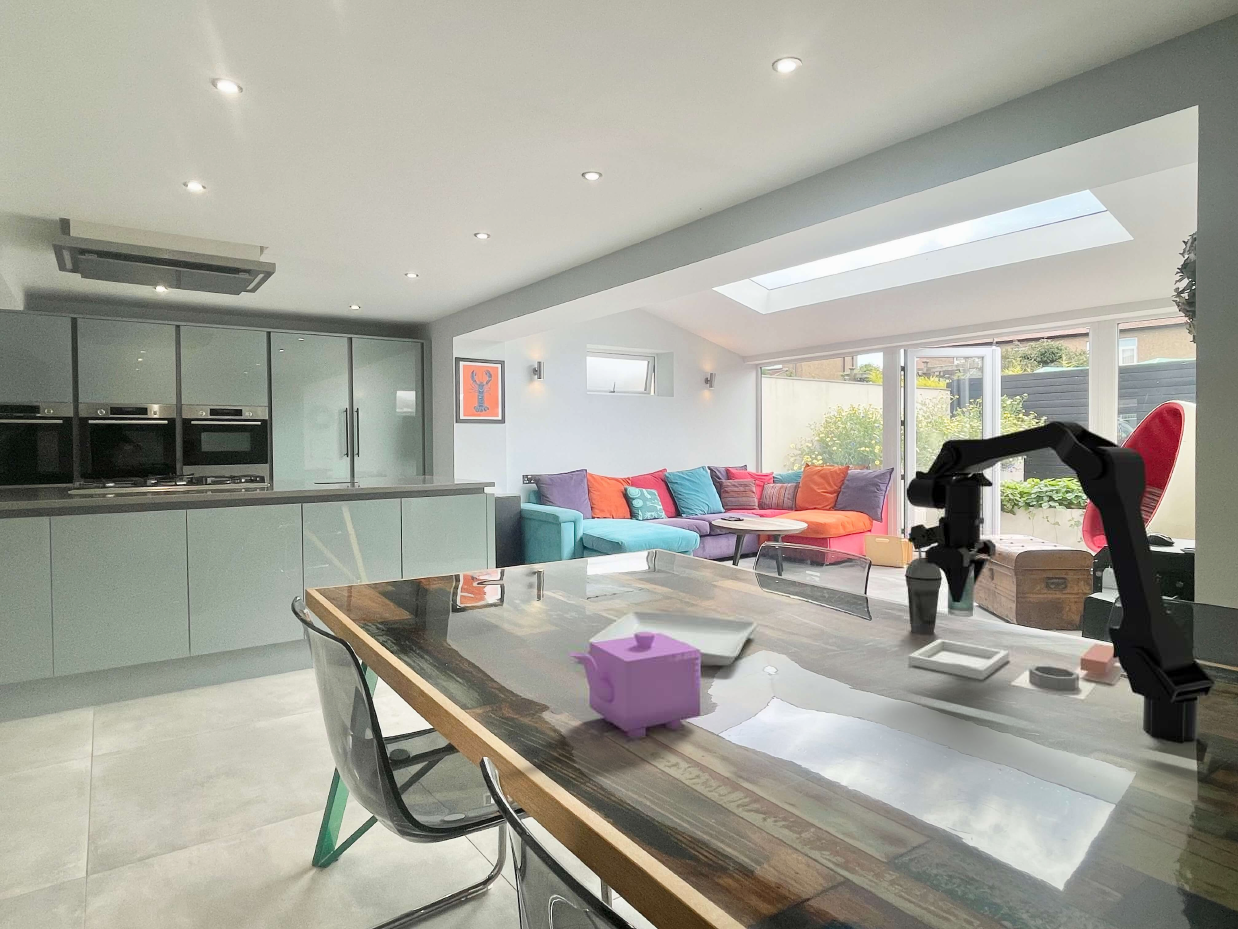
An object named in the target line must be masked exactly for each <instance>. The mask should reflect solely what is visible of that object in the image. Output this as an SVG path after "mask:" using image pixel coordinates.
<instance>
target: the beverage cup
mask: <svg viewBox="0 0 1238 929" xmlns="http://www.w3.org/2000/svg"><path fill="white" fill-rule="evenodd" d="M917 550H918V552H917V553H918V557H917V558H915V559H913V560H911V561H910V562H909V564H908V565H907V566H906V570H905V574H904V577H905V582H906V586H907V587H906V588H907V599H908V600H907V601H908V614H909V615H908V616H909V624H910V631H911V632H912V633H914V632H915V634H918V633H919V635H933V634H934V633H935V628H936V621H937V610H938V603H939V602H938V601H939V593H940V589H941V585H942V580H943V577H942V572H941V571H942V570H941V569H940V568H939V567H938V566H935V565H934V564H931V563H926V562H925V557H923V556H922V551H921V550H922V548H921V549H917ZM932 633H933V634H932Z"/></svg>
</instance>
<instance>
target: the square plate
mask: <svg viewBox="0 0 1238 929" xmlns="http://www.w3.org/2000/svg"><path fill="white" fill-rule="evenodd" d="M757 627H758V623H757V622H755V621H747V620H746V621H745V620H736V619H730V618H729V619H728V618H720V617H713V616H704V615H695V614H687V613H686V614H683V613H670V612H669V613H668V612H652V611H651V612H649V611H638V610H637V611H630V612H628V613H627V614H626V615H624V616H622V617H620V618H619V619H617V620H616V621H614V622H613V623H611V624H610V625H608V626H607V627H606V628H604V629H603V630H600V632H598V633H597V634H596V635H594V636H593V637H591V638H590V639H589V640H588V641H587V642H588V643H589V645H590V644H591V643H594V642H601V641H608V640H614V639H621V638H628V637H635V636H634V634H635V633H637V632H651V633H654V634H656V633H661V634H664V635H666V636H669V637H671V638H674V639H676V640H678V641H681V642H685V643H687V644H689V645H690V646H693V647H695V648H697V649H700V651H701V662H700V667H701V666H704V667H706V666H707V667H708V666H709V667H711V666H713V667H714V666H721V667H722V666H723V667H724V666H728V665H730V664H732V663H733V661H735V659H736V658H737V657H738V656H739V654H740V653H741V650H742V649H743V646H744V644H745V643H746V642H747V640H748V639H749V638H750V637H751V635H752V634H753V633H754V632H755V630H756V629H757Z"/></svg>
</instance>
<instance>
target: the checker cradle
mask: <svg viewBox="0 0 1238 929" xmlns="http://www.w3.org/2000/svg"><path fill="white" fill-rule="evenodd" d="M1080 667H1081V664H1080V665H1079V666H1078V667H1077V668H1076V669H1075V670H1074V671H1073V670H1071V669H1069V668H1064V667H1059V666H1053V665H1033V666H1031V667H1030V668H1029V670H1026V671H1025V672H1023V673H1022V674H1021V675H1020V676H1018V677H1017V678H1016V679H1015V680H1013V681H1012V682H1011V683H1010V684H1009V685H1010V686H1014V687H1019V688H1023V689H1024V688H1025V689H1029V690H1034V691H1038V692H1045V693H1048V694H1053V695H1058V696H1063V697H1068V698H1072V699H1076V700H1083V701H1084V700H1085V699H1086V698H1087V697H1088V695H1089V694H1090V693H1091V692H1092V690H1093V689H1094V688H1096V686H1097V683H1093V682H1088V681H1084V680H1079V679H1086V680H1090V681H1096V682H1101V683H1106V684H1111V685H1114V684H1116V682H1117V681H1118V680H1119V678H1120V677H1121V676H1122V675H1123V673H1124V672H1125V671H1124V670H1123V669H1122V667H1121V665H1120V663H1118V662H1116V663H1115V665H1114V666H1113V667H1112V668H1111V669H1110V671H1109V672H1108V673H1107V674H1101V673H1095V672H1090V671H1084V670H1080Z"/></svg>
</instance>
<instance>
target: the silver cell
mask: <svg viewBox="0 0 1238 929" xmlns="http://www.w3.org/2000/svg"><path fill="white" fill-rule="evenodd" d="M969 564H972V565H974V564H973V563H969ZM974 597H975V586H974V568H973V571H972V573H971V576H970V578H969V581H968V584H967V586H966V589H965V591H964V594H963V596H962V599H961V601H960V602H959V603H956V602H953V600H952V597H951V593H950V590H949V586H948V585H947V615H949V616H953V617H958V618H959V617H960V618H971V617H973V616H974V607H975V606H974V604H975V603H974V599H975V598H974Z"/></svg>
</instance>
